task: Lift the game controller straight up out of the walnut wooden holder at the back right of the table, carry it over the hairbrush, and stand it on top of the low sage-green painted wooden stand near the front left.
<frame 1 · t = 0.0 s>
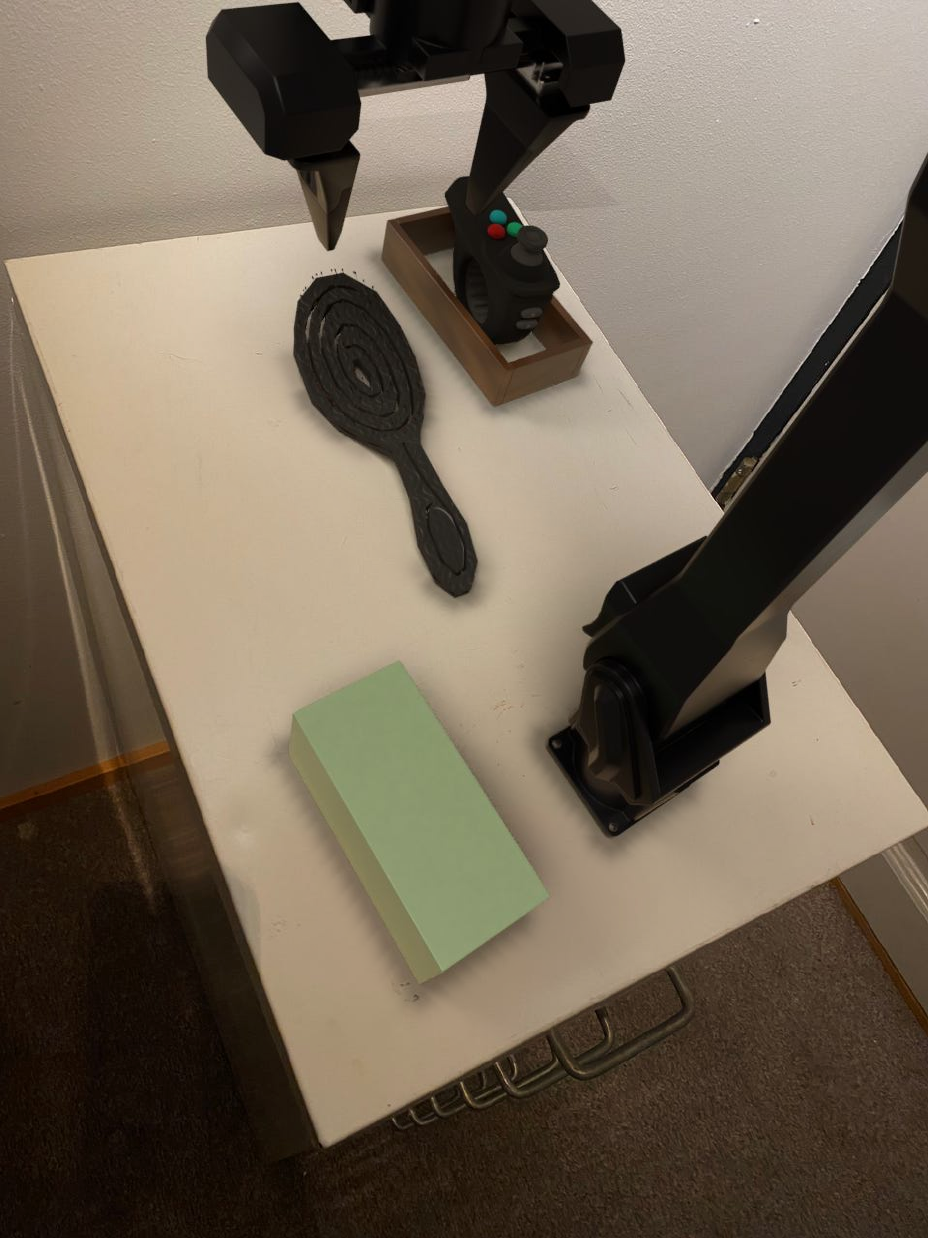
hand: (402, 226, 44), 15 cm above the table, tool pointing down, fingers open, 9 cm apart
controller: (477, 319, 63), resting in holder
hairbrush: (389, 443, 56), on the table
stand: (419, 802, 38), on the table
holder: (477, 317, 63), on the table
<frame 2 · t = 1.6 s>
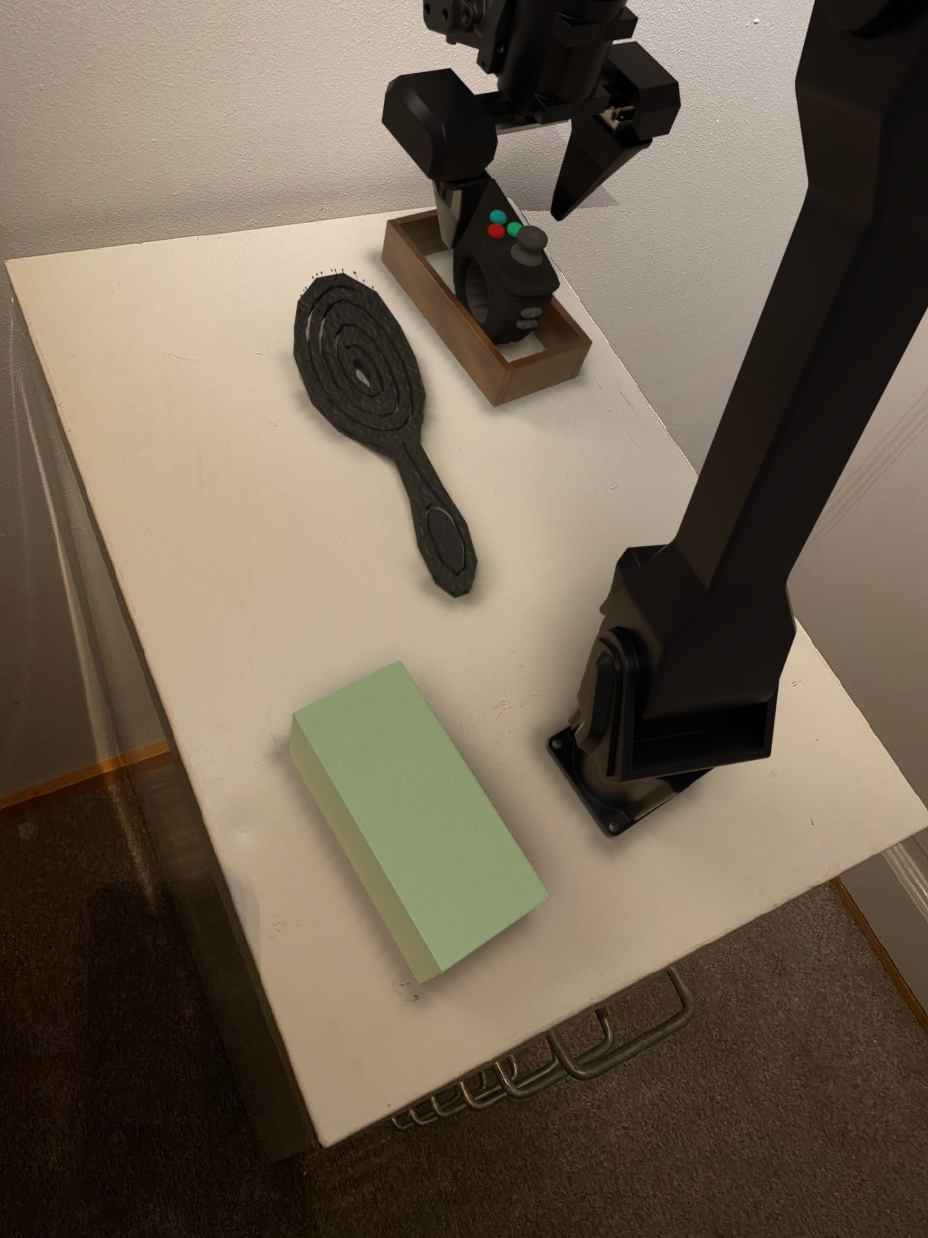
hand: (503, 230, 56), 8 cm above the table, tool pointing down, fingers open, 9 cm apart
nothing on the table moved.
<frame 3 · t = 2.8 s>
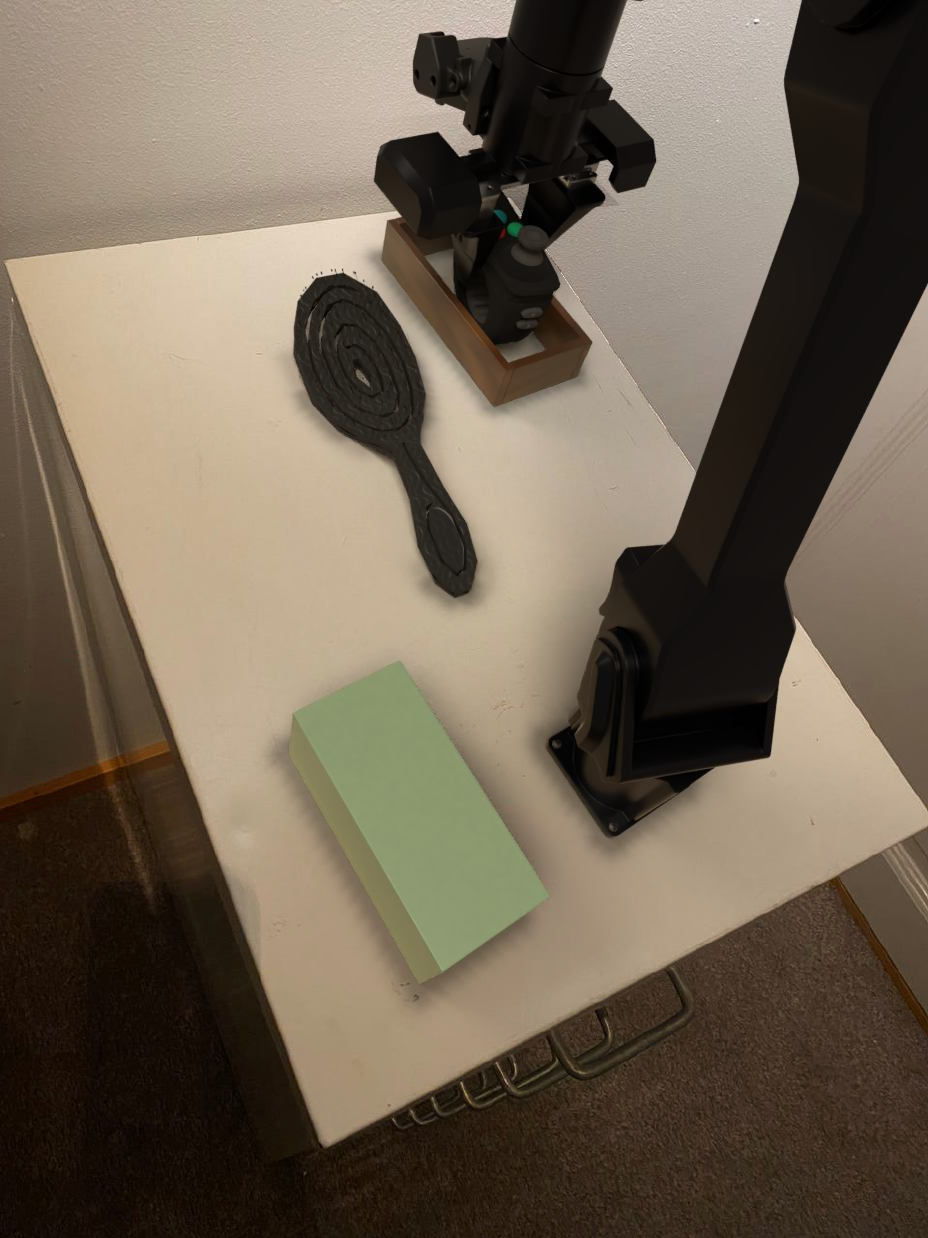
hand: (490, 274, 60), 4 cm above the table, tool pointing down, fingers closed on controller, 4 cm apart
controller: (477, 319, 63), resting in holder, touching gripper
everything else where it was.
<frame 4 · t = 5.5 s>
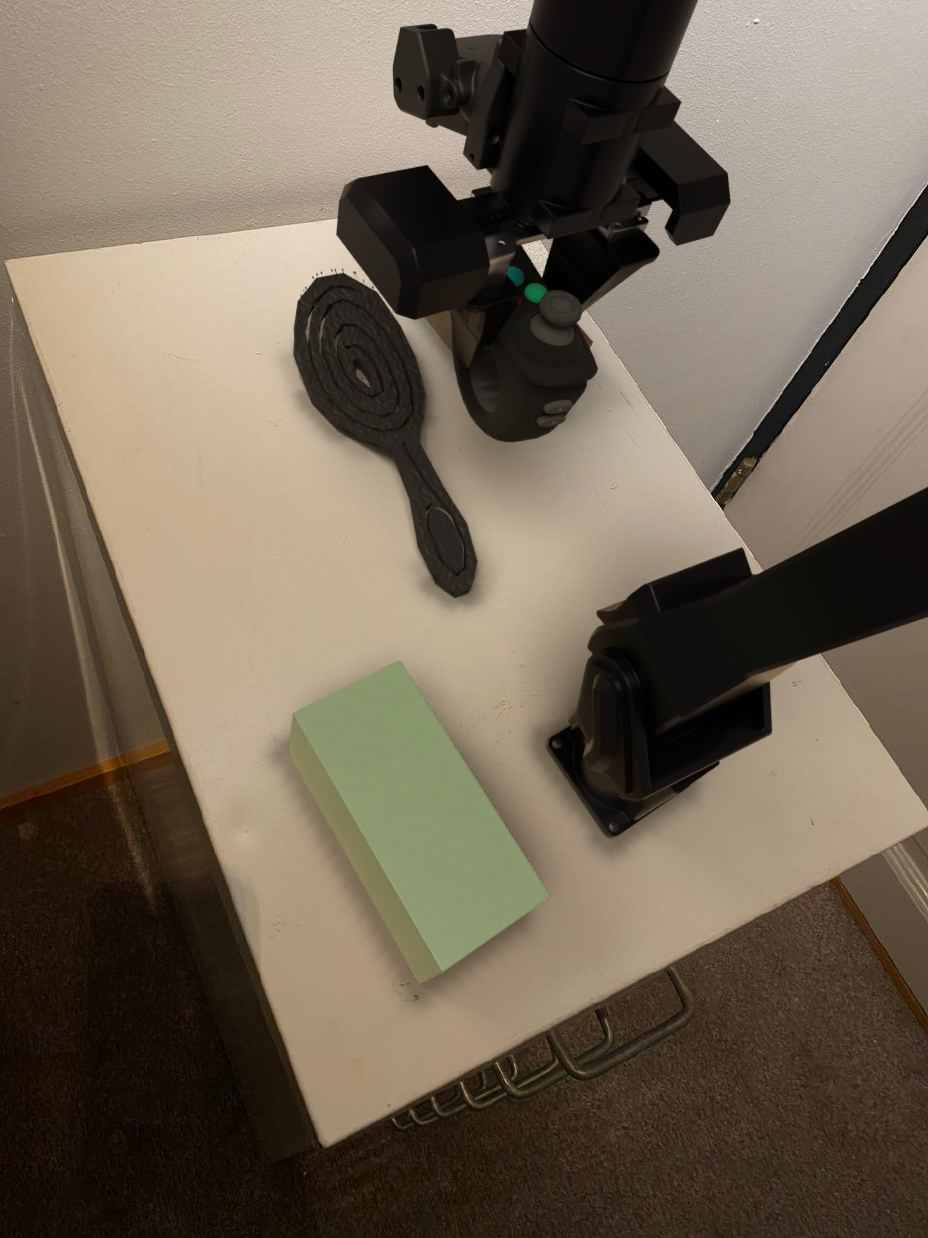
hand: (501, 349, 45), 12 cm above the table, tool pointing down, fingers closed on controller, 4 cm apart
controller: (483, 403, 48), point 8 cm above the table, touching gripper
everything else where it was.
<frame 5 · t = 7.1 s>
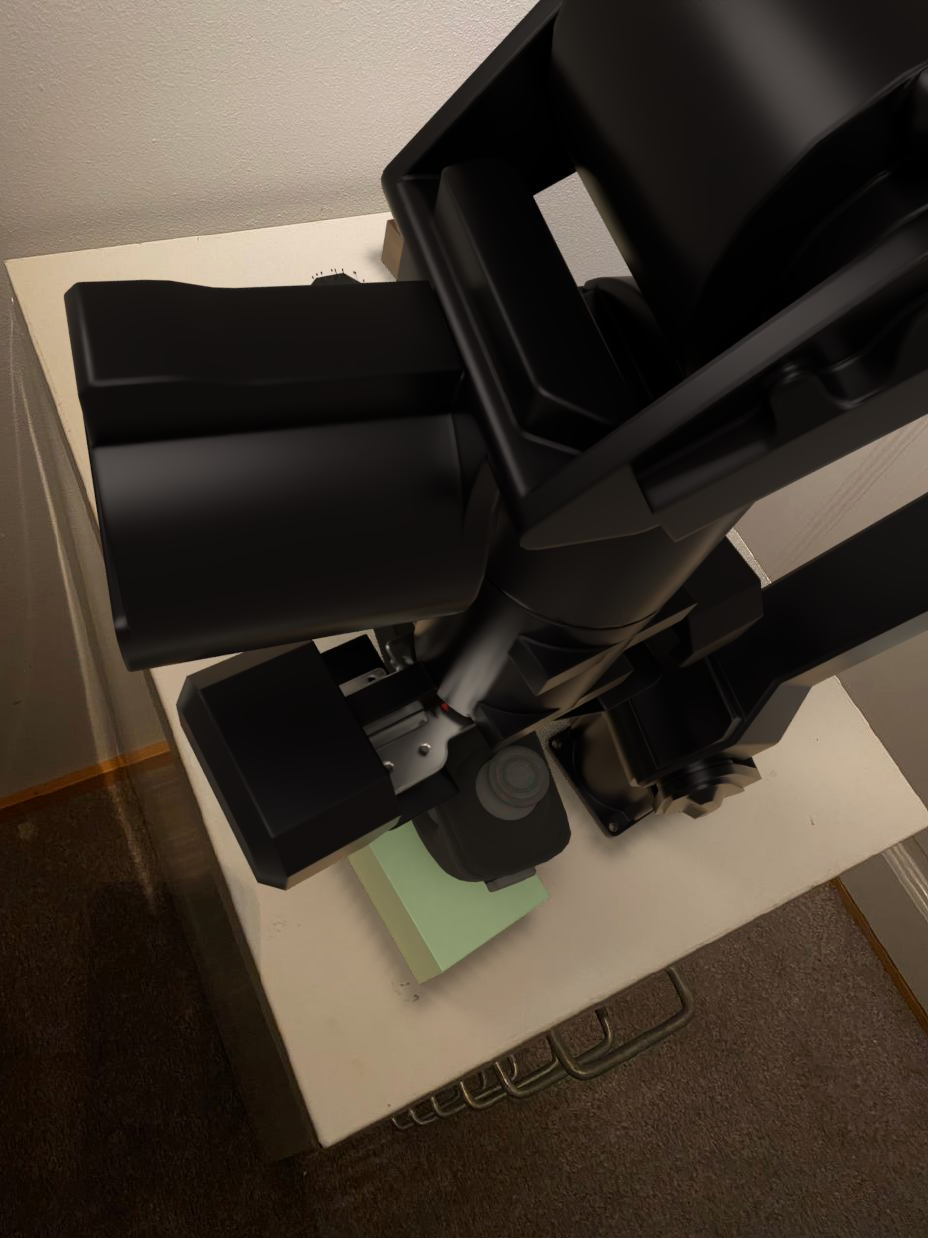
hand: (446, 742, 33), 12 cm above the table, tool pointing down, fingers closed on controller, 4 cm apart
controller: (427, 773, 37), point 8 cm above the table, touching gripper
everything else where it was.
when the fingers open (10 cm above the table, at t = 8.2 s): controller stays where it is, resting on stand.
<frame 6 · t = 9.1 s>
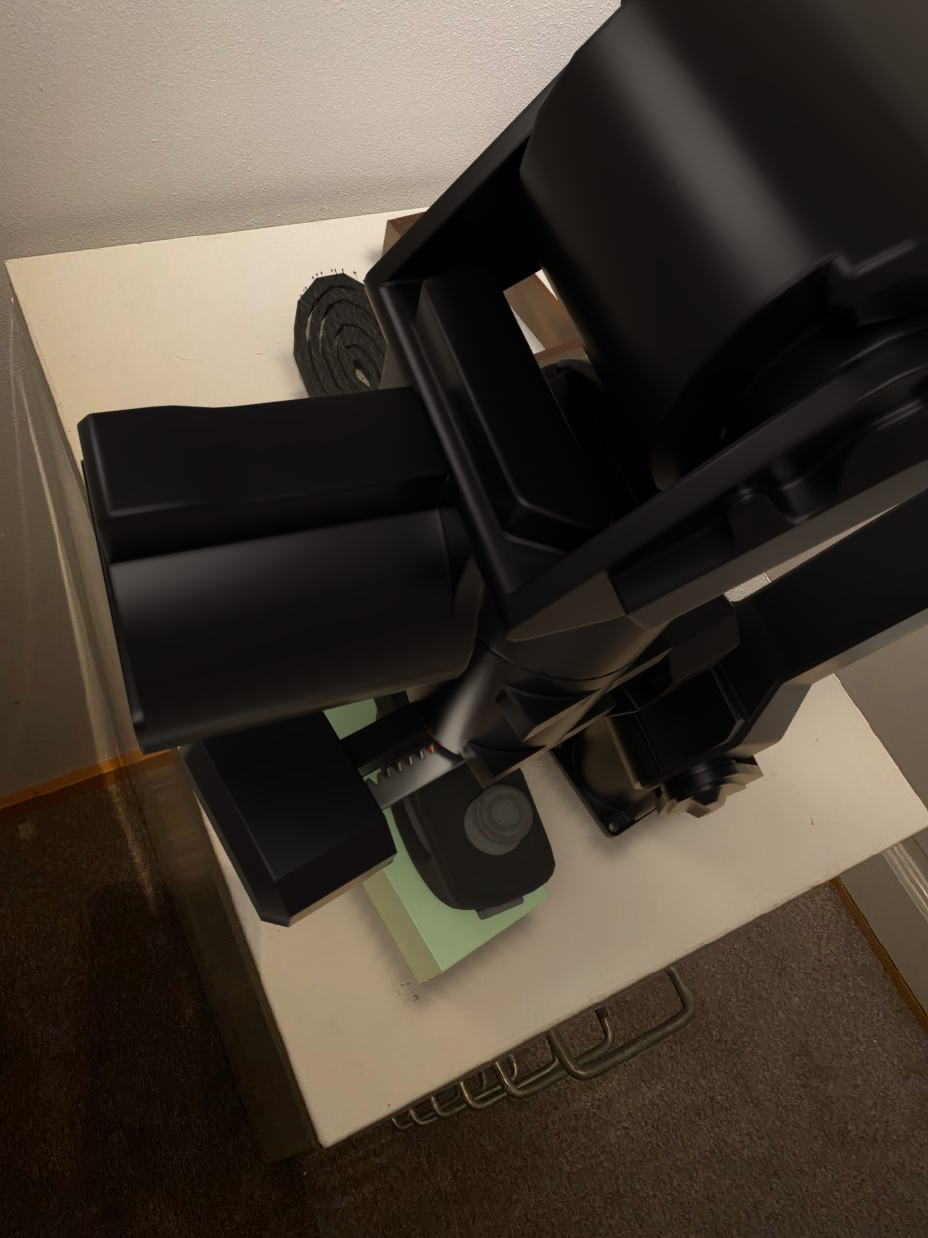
hand: (438, 768, 34), 11 cm above the table, tool pointing down, fingers open, 9 cm apart
controller: (420, 802, 39), point 6 cm above the table, touching stand
everything else where it was.
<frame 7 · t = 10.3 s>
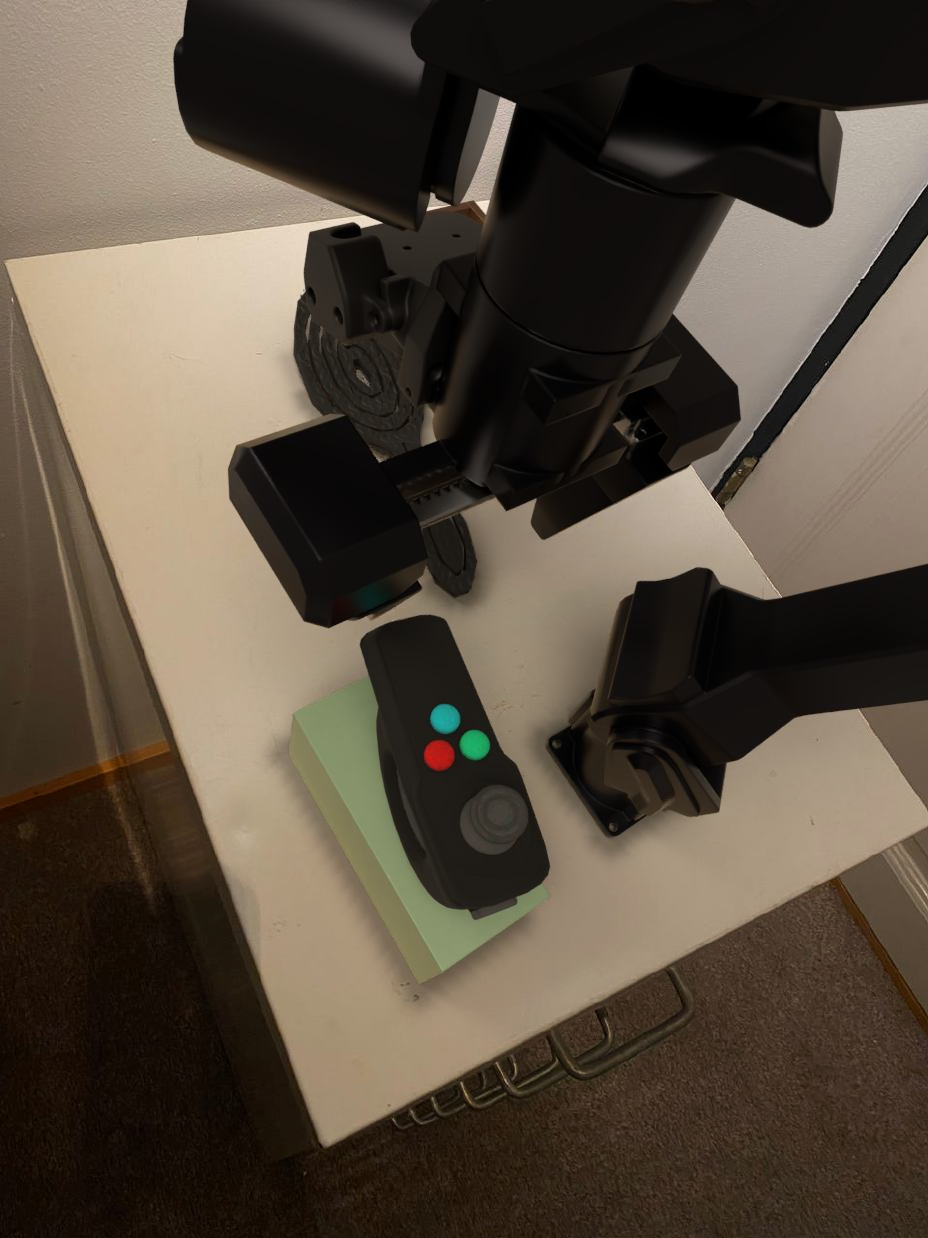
hand: (457, 568, 36), 13 cm above the table, tool pointing down, fingers open, 9 cm apart
nothing on the table moved.
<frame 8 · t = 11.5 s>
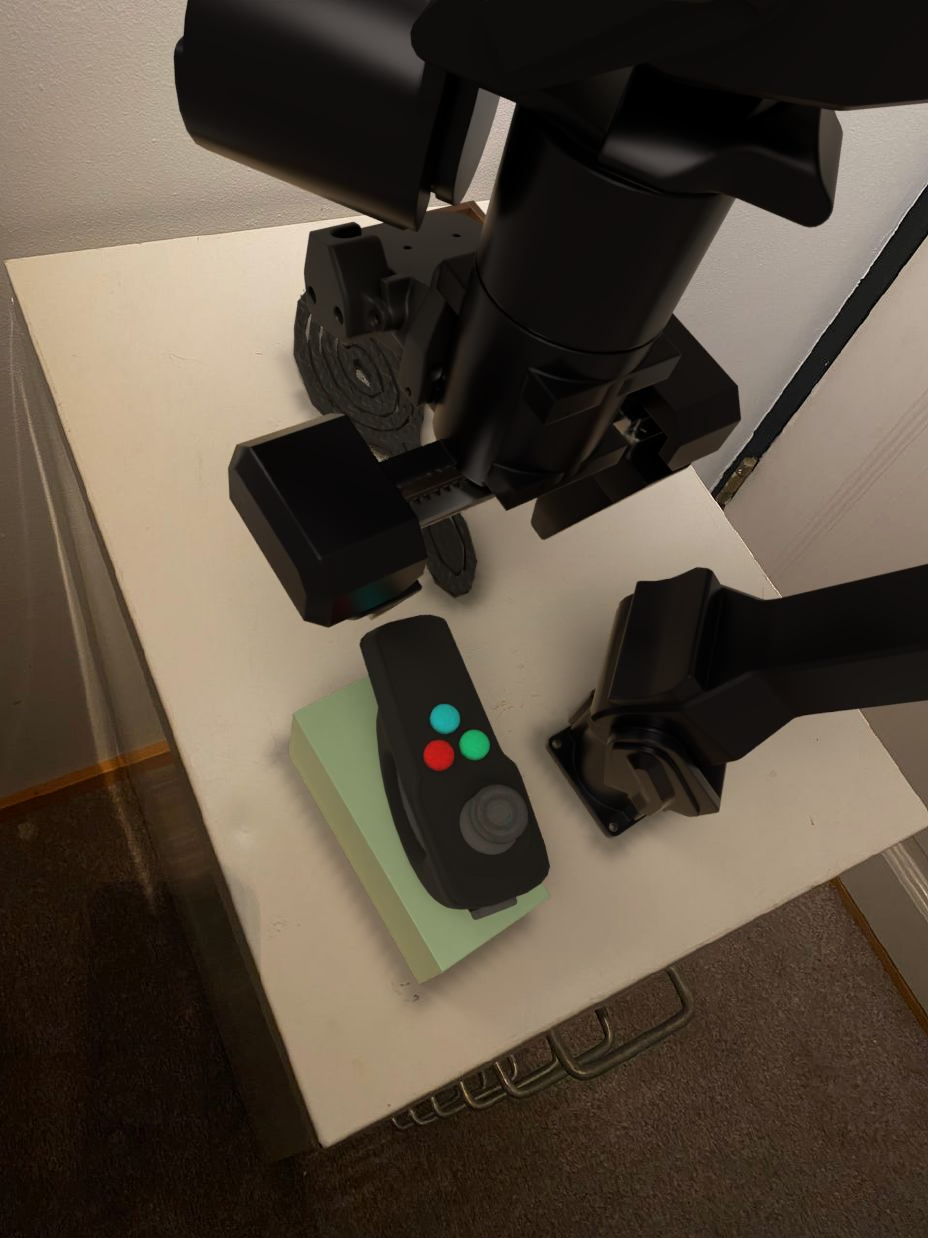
hand: (457, 568, 36), 13 cm above the table, tool pointing down, fingers open, 9 cm apart
nothing on the table moved.
at the end: controller 0.1 cm off-centre on the stand, point 0.0 cm above the stand's base; controller touching stand; controller tilted 0° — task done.
